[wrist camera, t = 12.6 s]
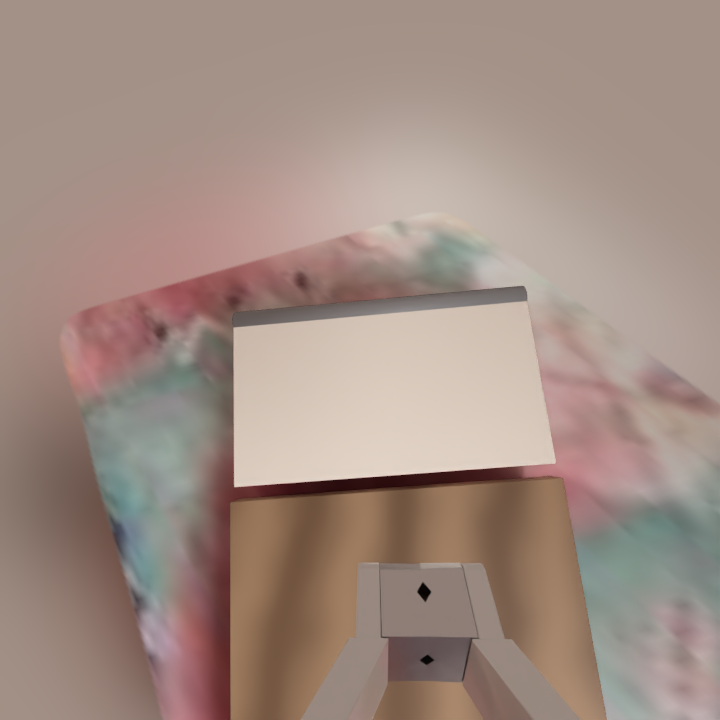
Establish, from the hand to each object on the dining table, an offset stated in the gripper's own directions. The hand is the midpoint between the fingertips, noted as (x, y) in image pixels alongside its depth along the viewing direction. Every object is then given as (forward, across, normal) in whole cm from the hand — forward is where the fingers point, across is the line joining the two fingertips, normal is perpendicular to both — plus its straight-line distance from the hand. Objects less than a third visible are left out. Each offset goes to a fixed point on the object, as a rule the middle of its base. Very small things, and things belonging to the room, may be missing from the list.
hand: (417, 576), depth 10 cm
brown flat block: (+10, -1, +20) cm, 22 cm away
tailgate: (+13, 0, +10) cm, 17 cm away
